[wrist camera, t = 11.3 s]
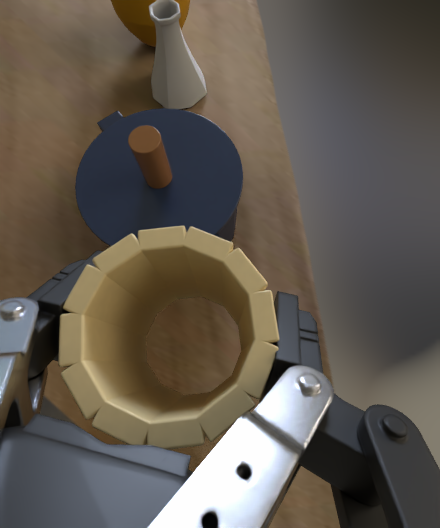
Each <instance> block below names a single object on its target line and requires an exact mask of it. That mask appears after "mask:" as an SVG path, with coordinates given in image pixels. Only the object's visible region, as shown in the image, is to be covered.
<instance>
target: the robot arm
mask: <svg viewBox="0 0 440 528" xmlns="http://www.w3.org/2000/svg"><path fill="white" fill-rule="evenodd" d="M102 252H104V251H96V252H95V253H94V254H92V255H91V256H90V257H89V258H88V259H86V260H80V261H77V262H74V263H72V264H69V265H68V266H67V267H65V268H64V269H63V270H61V271H60V273H58V274H56V275H55V276H54V277H52V279H50V280H49V281H47V282H46V283H45V284H43V285H42V286H41V287H40V288H38V289H37V290H36V291H34V292H33V293H32V294H31V295H29V296H28V297H27V298H23V297H15V298H8V299H4V300H1V301H0V528H269V526H270V524H271V522H272V520H273V518H274V516H275V514H276V512H277V510H278V508H279V506H280V505H281V503H282V501H283V499H284V497H285V495H286V493H287V491H288V490H289V488H290V486H291V484H292V482H293V480H294V478H295V476H296V474H297V473H298V471H299V469H300V467H301V466H303V467H304V468H306V469H308V470H309V471H311V472H312V473H314V474H316V475H317V476H319V477H320V478H322V479H324V480H325V481H327V482H328V483H330V484H331V488H332V492H333V497H334V501H335V505H336V510H337V514H338V518H339V523H340V527H341V528H440V469H439V467H438V465H437V464H436V462H435V460H434V458H433V456H432V454H431V452H430V450H429V448H428V446H427V445H426V443H425V441H424V439H423V437H422V435H421V433H420V431H419V430H418V428H417V427H416V426H415V424H414V423H413V422H412V421H411V420H410V419H409V418H408V417H407V416H405V415H404V414H403V413H401V412H399V411H398V410H396V409H394V408H391V407H389V406H385V405H372V406H370V407H369V408H368V409H367V410H366V411H363V410H361V409H359V408H357V407H355V406H353V405H351V404H349V403H347V402H345V401H344V400H342V399H341V398H339V397H338V396H337V395H336V394H335V393H334V389H333V386H332V384H331V383H330V381H329V380H328V379H327V378H326V377H325V376H324V375H323V368H322V361H321V353H320V346H319V338H318V335H317V334H318V330H317V323H316V321H315V320H314V318H313V317H312V315H311V314H310V312H306V311H302V310H299V306H298V296H297V295H292V294H288V293H283V292H279V291H278V292H277V294H276V298H275V301H274V308H275V314H276V321H277V327H278V333H279V341H277V342H275V343H273V345H275V346H277V347H278V348H279V350H278V351H276V354H275V359H274V363H273V366H272V369H271V371H270V374H269V377H268V380H267V382H266V385H265V388H264V390H263V393H262V396H261V398H260V400H259V405H258V406H257V407H256V409H255V410H254V411H253V412H252V413H251V412H250V411H249V410H248V411H246V412H245V413H243V414H242V415H241V417H240V418H239V419H238V420H237V421H236V423H235V424H234V425H233V426H232V427H231V429H230V430H229V431H228V432H227V433H226V435H225V436H224V437H223V438H222V439H221V441H220V442H219V443H218V444H217V445H216V447H215V448H214V449H213V450H212V451H211V453H210V454H209V455H208V456H207V457H206V459H205V460H204V461H203V462H202V463H201V465H200V466H199V467H198V468H197V469H196V470H195V472H194V473H193V472H192V471H190V470H188V468H189V462H190V457H191V456H189V455H185V454H182V453H178V452H175V451H171V450H167V449H164V448H160V447H157V446H153V445H110V444H105V443H103V442H101V441H100V440H98V439H97V438H95V437H94V436H92V435H90V434H89V433H87V432H86V431H84V430H82V429H81V428H79V427H78V426H76V425H75V424H73V423H70V422H66V421H62V420H59V419H55V418H51V417H48V416H44V415H41V414H40V410H41V405H42V400H43V395H44V390H45V385H46V380H47V375H48V369H47V366H48V364H49V363H50V362H51V361H52V360H55V361H58V360H59V327H60V315H62V314H66V313H70V312H68V311H66V310H64V309H63V306H64V304H65V301H66V300H67V298H68V296H69V294H70V293H71V291H72V289H73V287H74V286H75V284H76V282H77V280H78V279H79V277H80V275H81V274H82V272H83V270H84V268H85V267H86V265H91V266H94V267H96V266H95V264H94V263H93V260H92V259H93V258H94V257H96V256H97V255H99V254H100V253H102Z"/></svg>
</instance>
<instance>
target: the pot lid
mask: <svg viewBox="0 0 440 528" xmlns="http://www.w3.org/2000/svg"><path fill="white" fill-rule="evenodd" d="M242 185H243V171H242V164H241V160H240V157H239V154H238V152H237V149H236V147H235V146H234V144H233V142H232V141H231V139H230V138H229V137H228V136H227V134H226V133H225V132H224V131H223V130H222V129H221V128H219V127H218V126H217V125H216V124H214V123H213V122H211V121H210V120H208V119H206V118H204V117H202V116H200V115H198V114H195V113H192V112H188V111H185V110H179V109H166V108H162V109H151V110H146V111H141V112H138V113H134V114H132V115H129V116H127V117H124V118H122V119H121V120H119V121H117V122H115V123H114V124H112V125H111V126H109V127H108V128H106V129H105V130H104V131H103V132H102V133H101V134H99V135H98V137H97V138H96V139H95V140H94V141H93V142H92V143H91V145H90V146H89V148H88V149H87V150H86V152H85V154H84V156H83V158H82V160H81V162H80V165H79V168H78V172H77V176H76V186H75V189H76V199H77V204H78V208H79V210H80V213H81V215H82V217H83V219H84V221H85V222H86V224H87V225H88V227H89V228H90V229H91V230H92V232H93V233H94V234H95V235H96V236H97V237H99V238H100V239H101V240H102V241H103V242H104V243H106V244H107V245H109V246H110V247H111V246H113V245H114V244H116V243H117V242H119V241H120V240H122V239H123V238H125V237H126V236H128V235H129V234H134V235H135V237H136V238H137V239H138V231H139V230H147V229H156V228H165V227H174V226H185V229H186V232H187V231H188V229H189V228H190V227H194V228H197V229H199V230H202V231H204V232H207V233H209V234H212V235H214V236H216V235H217V234H218V233H219V232H220V231H221V230H222V229H223V228H224V227H225V226H226V224H227V223H228V221H229V220H230V219H231V217H232V216H233V214H234V212H235V210H236V208H237V206H238V203H239V200H240V197H241V192H242Z"/></svg>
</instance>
